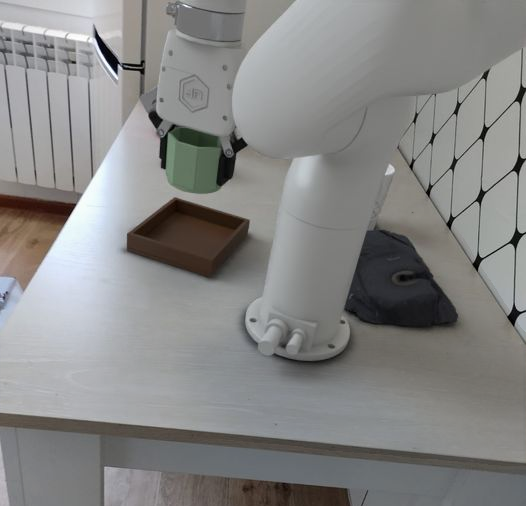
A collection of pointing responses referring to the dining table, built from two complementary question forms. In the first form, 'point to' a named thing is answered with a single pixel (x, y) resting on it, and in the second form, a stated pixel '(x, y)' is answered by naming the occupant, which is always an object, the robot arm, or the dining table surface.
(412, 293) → the dark slate chunk
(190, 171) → the top tub
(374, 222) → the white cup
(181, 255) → the tray
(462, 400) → the dining table surface
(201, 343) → the dining table surface
